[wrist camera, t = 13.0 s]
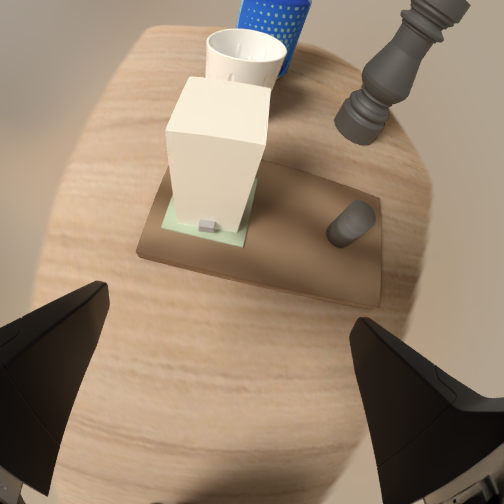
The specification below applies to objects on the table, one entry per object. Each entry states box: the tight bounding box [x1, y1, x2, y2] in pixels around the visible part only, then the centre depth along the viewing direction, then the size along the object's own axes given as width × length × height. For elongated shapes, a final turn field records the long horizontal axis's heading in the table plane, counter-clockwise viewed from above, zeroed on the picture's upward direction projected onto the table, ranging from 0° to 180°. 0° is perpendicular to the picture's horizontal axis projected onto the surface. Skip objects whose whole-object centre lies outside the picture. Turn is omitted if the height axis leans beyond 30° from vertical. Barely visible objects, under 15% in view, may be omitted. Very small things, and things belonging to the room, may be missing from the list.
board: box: [136, 160, 381, 309], centre depth 23 cm, size 12×22×6 cm, turn 79°
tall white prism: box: [165, 76, 271, 233], centre depth 18 cm, size 6×5×11 cm
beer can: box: [236, 0, 312, 79], centre depth 26 cm, size 8×8×16 cm
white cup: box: [205, 29, 287, 92], centre depth 25 cm, size 8×8×10 cm
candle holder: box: [334, 0, 471, 145], centre depth 21 cm, size 6×6×25 cm
